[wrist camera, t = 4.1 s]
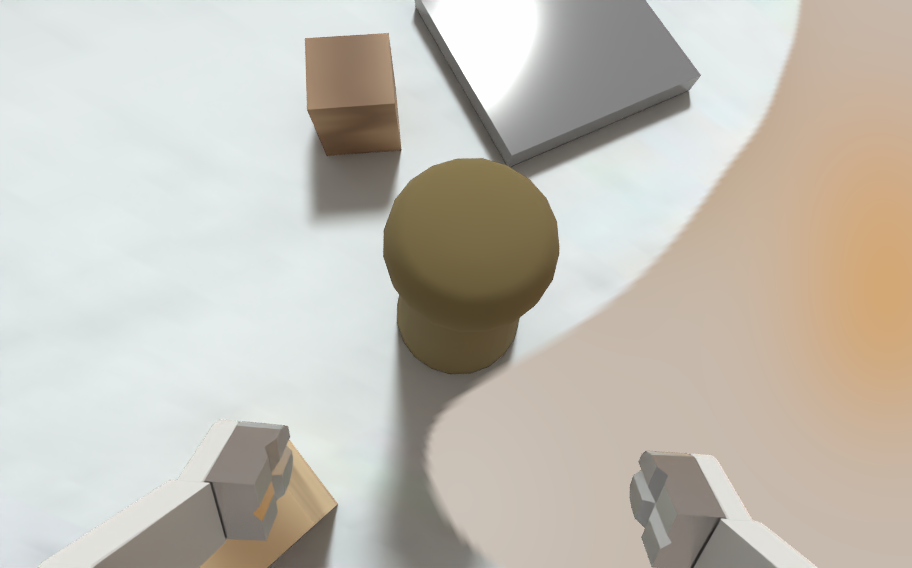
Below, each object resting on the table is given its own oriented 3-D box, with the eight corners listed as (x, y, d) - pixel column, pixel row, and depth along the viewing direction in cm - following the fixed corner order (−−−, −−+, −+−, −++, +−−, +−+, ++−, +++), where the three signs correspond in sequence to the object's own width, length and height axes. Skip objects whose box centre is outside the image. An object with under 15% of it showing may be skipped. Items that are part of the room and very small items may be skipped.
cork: (375, 287, 23) (321, 177, 12) (481, 234, 24) (515, 91, 13) (432, 397, 22) (426, 380, 11) (542, 337, 23) (633, 267, 12)
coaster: (508, 167, 25) (511, 155, 24) (415, 6, 28) (414, -12, 27) (689, 90, 27) (700, 75, 26) (585, -54, 30) (591, -73, 28)
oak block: (262, 572, 19) (218, 611, 16) (208, 495, 20) (154, 514, 16) (338, 503, 20) (314, 524, 16) (284, 432, 21) (249, 435, 17)
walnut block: (327, 156, 25) (307, 109, 21) (324, 94, 26) (305, 38, 22) (401, 150, 25) (394, 103, 21) (395, 89, 26) (388, 33, 22)
